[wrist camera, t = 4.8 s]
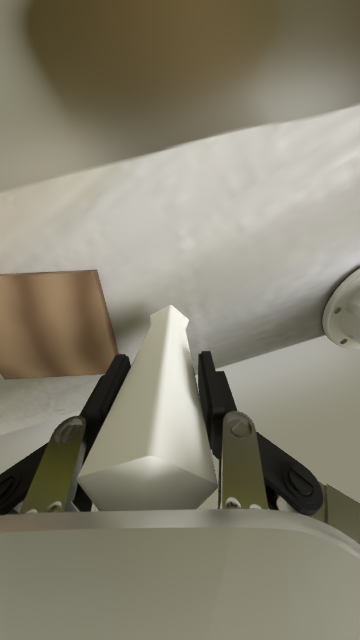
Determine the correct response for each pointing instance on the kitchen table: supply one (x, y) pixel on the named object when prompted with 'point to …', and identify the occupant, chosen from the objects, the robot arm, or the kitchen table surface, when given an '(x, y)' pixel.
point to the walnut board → (54, 325)
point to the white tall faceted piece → (153, 431)
